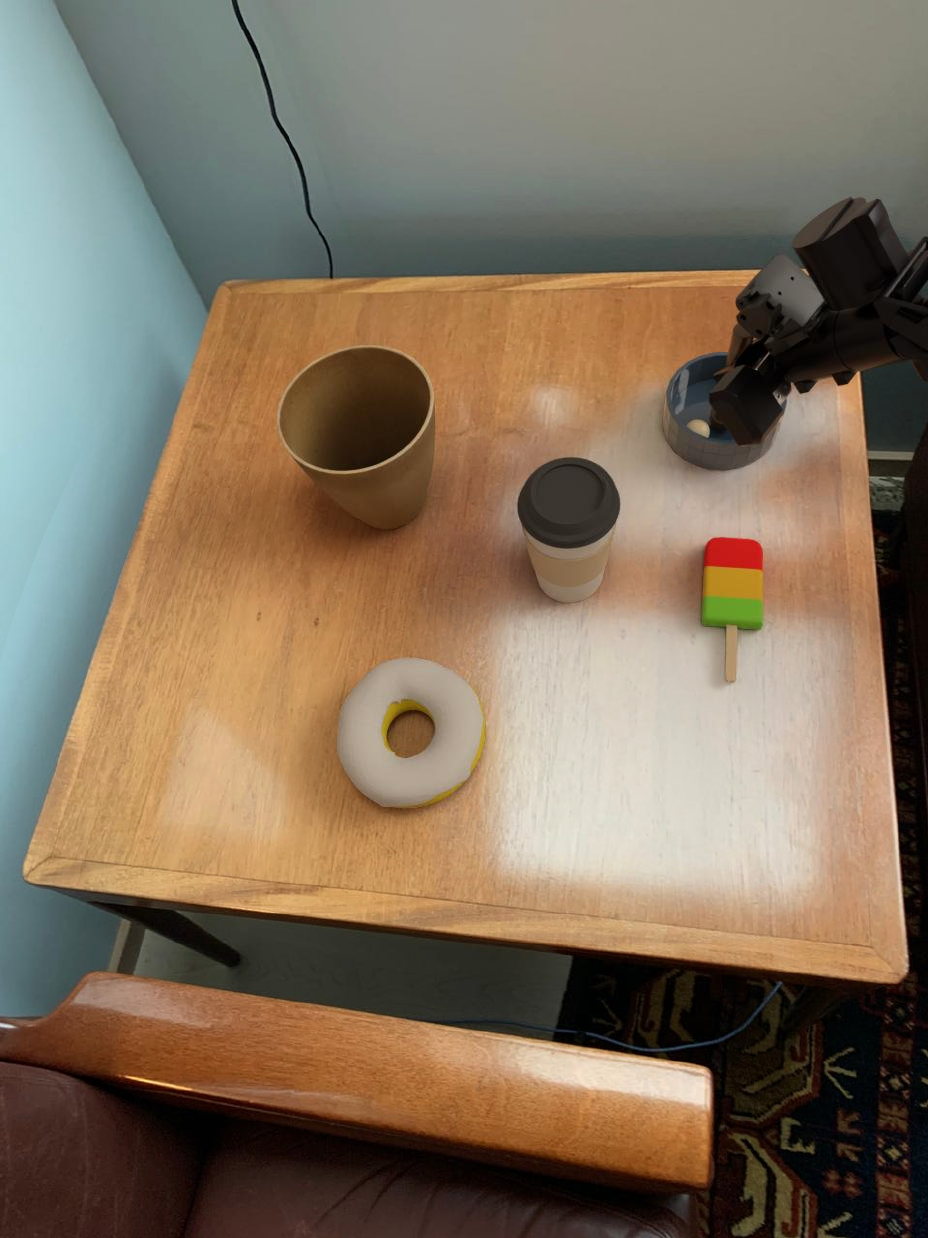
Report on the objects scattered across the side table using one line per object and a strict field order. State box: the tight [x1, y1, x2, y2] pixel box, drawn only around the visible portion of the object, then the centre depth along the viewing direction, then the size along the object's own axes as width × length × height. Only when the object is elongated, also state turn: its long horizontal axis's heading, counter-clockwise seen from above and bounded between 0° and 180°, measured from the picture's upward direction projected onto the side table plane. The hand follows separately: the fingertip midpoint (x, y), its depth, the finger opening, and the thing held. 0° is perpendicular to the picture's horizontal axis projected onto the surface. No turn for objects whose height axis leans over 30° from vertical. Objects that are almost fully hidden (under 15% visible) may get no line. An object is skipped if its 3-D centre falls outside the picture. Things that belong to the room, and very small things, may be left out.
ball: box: [686, 420, 710, 437], centre depth 91 cm, size 3×3×3 cm
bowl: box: [662, 351, 788, 471], centre depth 91 cm, size 12×12×4 cm
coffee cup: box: [516, 456, 621, 604], centre depth 81 cm, size 9×9×15 cm
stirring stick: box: [709, 323, 755, 431], centre depth 85 cm, size 3×3×13 cm
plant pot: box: [276, 344, 436, 531], centre depth 87 cm, size 15×15×16 cm
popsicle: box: [701, 536, 764, 683], centre depth 83 cm, size 6×15×2 cm, turn 172°
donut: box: [336, 656, 487, 809], centre depth 80 cm, size 14×14×5 cm
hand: (722, 371), depth 86 cm, fingers closed on stirring stick, 2 cm apart
